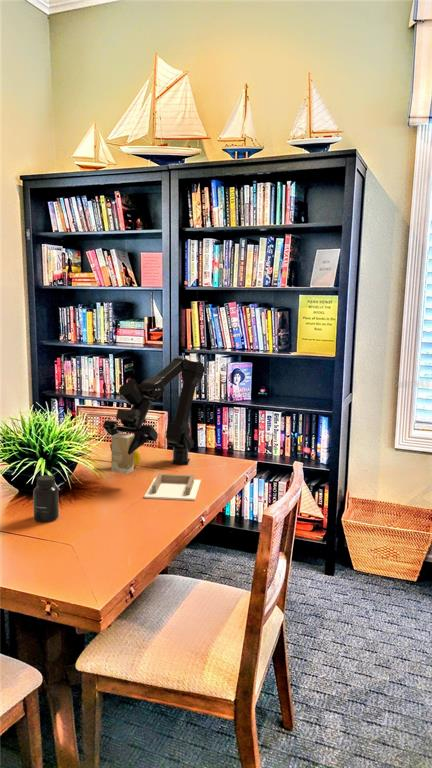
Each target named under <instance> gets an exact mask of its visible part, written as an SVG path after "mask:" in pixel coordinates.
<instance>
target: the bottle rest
mask: <svg viewBox="0 0 432 768" xmlns="http://www.w3.org/2000/svg"><path fill="white" fill-rule="evenodd" d="M201 482H202V479H195V475H193V474H174V473H173V474H172V473H171V474H170V473H158V474H157V477H154V479H153V480H152V481H151V483H150V485H149V488H147V491H146V492H145V494H144V496H143V498H144V499H155V500H157V499H158V500H172V501H173V500H174V501H176V500H177V501H196V499H197V494H198V491H199V489H200V485H201Z"/></svg>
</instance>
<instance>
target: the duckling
mask: <svg viewBox="0 0 432 768" xmlns="http://www.w3.org/2000/svg"><path fill="white" fill-rule="evenodd" d="M109 447H110V449H111V443H109ZM141 457H142V456H141V453H140V451H139V450H137V449H136V450H135V451H134V467H136V466H138V465H139V464H140V462H141Z"/></svg>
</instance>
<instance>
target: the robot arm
mask: <svg viewBox="0 0 432 768" xmlns="http://www.w3.org/2000/svg"><path fill="white" fill-rule="evenodd" d="M205 369H206V368H205V365H204V363H203V362H202V361H193V360H190V359H187V358H185V357H175V358H173V359H172V361H171V362H170V363H169V364H168V365H166V366H165V367H164V368H163V369H162V370H161V371H160V372H159V373H158V374H157V375H155V376H151V377H149V378H147V379H145V380H143V381H142V382H141V383H140V384H138V383H137V381H136V380H135V379H129V380H128V382H127V381H126V382H125V383H123V384H122V385H120V386H119V389H118V394H119V395H120V396H121V397H122V398H123V400H124V401H125V402H126V403H127V404H128V405H130V406H131V407H130V409H120V408H118V409H117V412H116V416H115V419H116V420H120V422H119V423H121V425H119V424H118V422H117V421H116V420H111V419H110V420H108V419H107V420H104V422H103V424H102V428H103V429H104V430H105V431H106V433H107V434H108V435H110V436H112V435H115V434H117V433H125V434H132V435H134V439H133V441H132V443H131V446H130V448H129V451H128V454H129V455H130V454H131V453H133V452H134V451H136V450H137V449H139V448H140V447H142V446H143V445H145V444H146V443H149V442H150V441H151V442H157V439H158V436H159V434H158V432H157V431H156V429H155V428H154V426H153V425H147V424H146V423H147V419H146V417H147V414H148V412H149V410H154V409H155V405H154V404H153V401H151V400H158V399H160V398H161V396H162V395H163V394H164V393H165V390H166V386H167V385H168V384H169V383H171V382H172V380H174V379H175V378H176V377H177V376H178V375H179V374H180V377H181V380H182V387H181V391H180V395H179V400H178V402H177V403H178V404H177V407H176V411H175V417H174V419H173V420H172V421H171V422H168V423H167V428H166V431H165V438H166V441H167V446H169V447H172V460H171V462H170V464H171V465H184V466H185V465H189V463H190V460H191V459H190V458H189V449H192V448H193V447H194V444H195V441H194V439H193V438H192V436H190V432H191V430H190V429H191V428H190V426H189V422H188V421H189V417H190V413H191V408H192V404H193V400H194V397H195V396H194V395H195V391H196V388H197V385H198V384H199V383H200V382H201V381H202V380H203V376H204V373H205V372H206V371H205ZM150 399H151V400H150ZM110 444H111V448H110V452H112V440H111V443H110Z"/></svg>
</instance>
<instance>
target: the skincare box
mask: <svg viewBox="0 0 432 768" xmlns="http://www.w3.org/2000/svg"><path fill="white" fill-rule="evenodd" d="M133 439H134V434H130V433H123V432H121V433H117V434H115V435H111V441H112V451H111V472H115V473H119V474H120V473H121V474H126V475H127V474H130V473H131V472H133V471H134V470H135V469H134V468H135V466H134V452H133V453H131V454H130V455H129V454H128V451H129V448H130V446H131V443H132V441H133Z"/></svg>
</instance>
